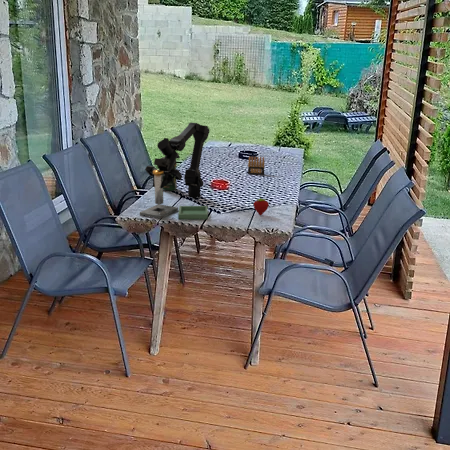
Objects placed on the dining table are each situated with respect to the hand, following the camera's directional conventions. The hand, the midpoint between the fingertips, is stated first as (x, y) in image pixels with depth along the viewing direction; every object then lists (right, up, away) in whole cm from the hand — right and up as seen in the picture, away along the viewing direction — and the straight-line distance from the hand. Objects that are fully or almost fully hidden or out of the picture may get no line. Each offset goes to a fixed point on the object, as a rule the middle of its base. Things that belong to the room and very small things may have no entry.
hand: (157, 187), depth 257 cm
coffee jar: (0, +2, +48) cm, 48 cm away
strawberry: (+51, -14, +4) cm, 53 cm away
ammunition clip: (+53, +14, +85) cm, 102 cm away
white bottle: (+1, -7, +4) cm, 8 cm away
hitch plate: (0, -12, +5) cm, 13 cm away
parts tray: (+17, -13, +3) cm, 22 cm away
